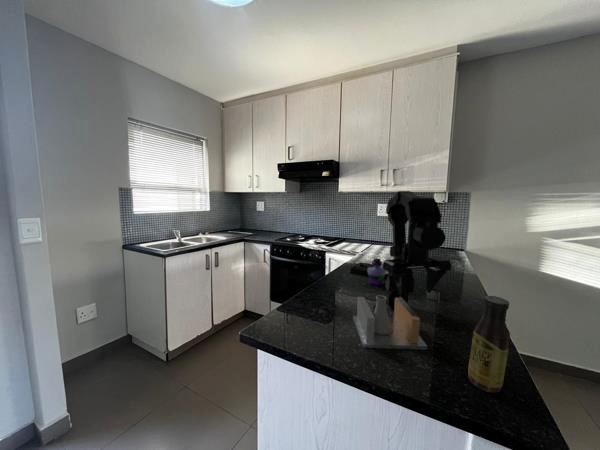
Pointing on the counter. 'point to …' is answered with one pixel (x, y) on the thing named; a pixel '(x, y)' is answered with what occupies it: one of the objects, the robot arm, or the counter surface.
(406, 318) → the block
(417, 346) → the vise base
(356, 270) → the multimeter
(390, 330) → the flask
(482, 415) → the counter surface
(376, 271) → the potion bottle
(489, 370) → the sauce bottle
